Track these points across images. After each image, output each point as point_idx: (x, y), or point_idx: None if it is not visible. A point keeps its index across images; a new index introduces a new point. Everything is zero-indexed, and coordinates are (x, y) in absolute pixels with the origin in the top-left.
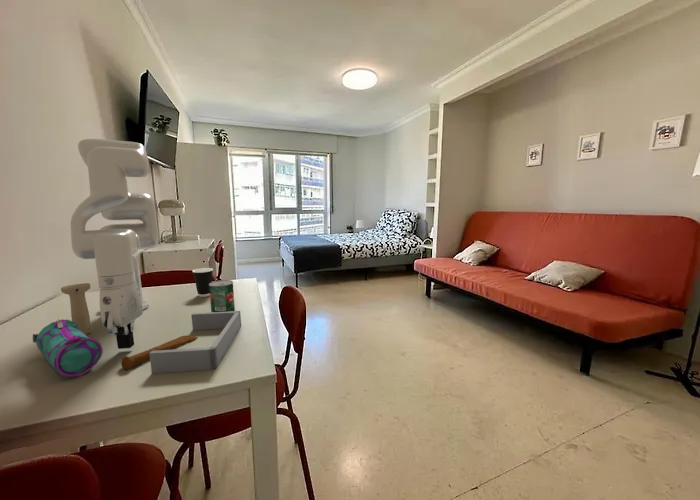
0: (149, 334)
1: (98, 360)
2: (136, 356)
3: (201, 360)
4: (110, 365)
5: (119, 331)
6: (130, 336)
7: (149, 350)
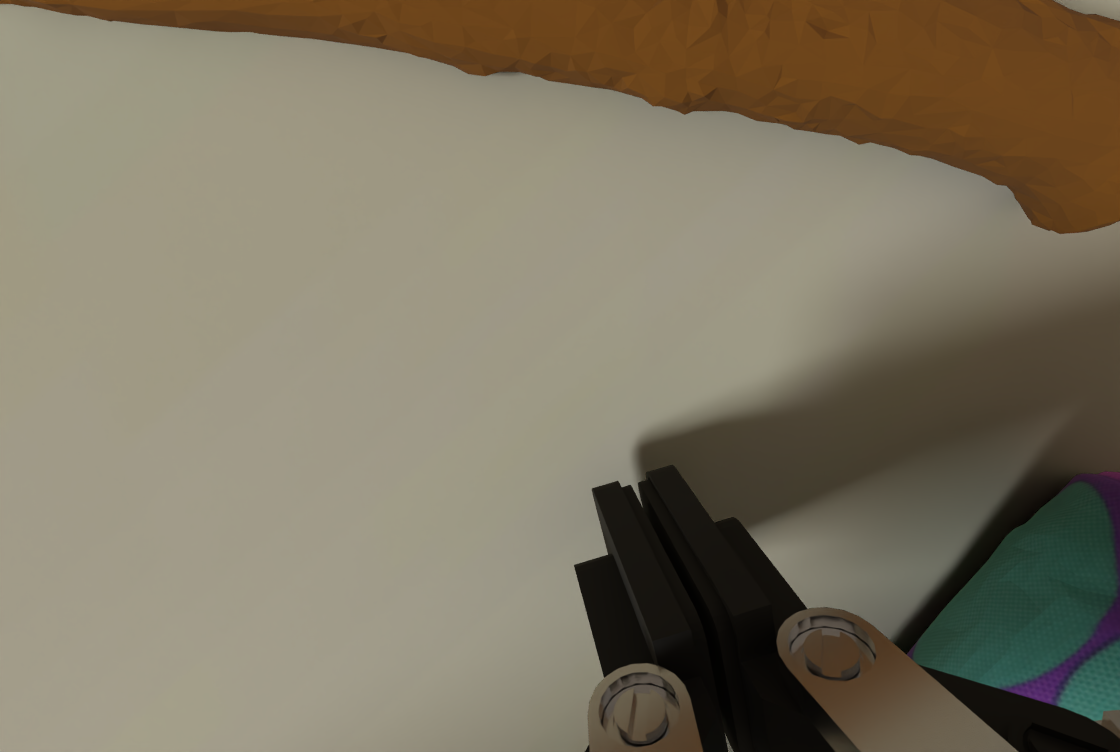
0: (144, 626)
1: (1112, 476)
2: (1108, 36)
3: None
4: (945, 394)
5: (1068, 711)
6: (709, 567)
7: (869, 6)
